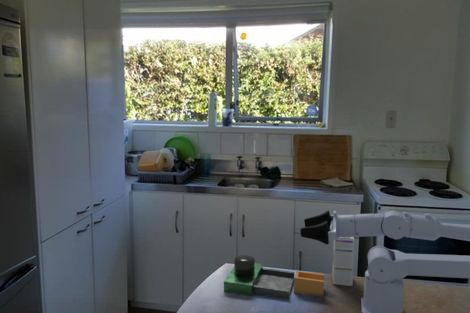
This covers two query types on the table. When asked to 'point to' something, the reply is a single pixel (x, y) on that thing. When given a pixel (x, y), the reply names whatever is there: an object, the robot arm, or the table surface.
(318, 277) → the tan arch block
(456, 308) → the table surface
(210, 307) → the table surface
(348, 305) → the table surface
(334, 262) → the syrup box
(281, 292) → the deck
